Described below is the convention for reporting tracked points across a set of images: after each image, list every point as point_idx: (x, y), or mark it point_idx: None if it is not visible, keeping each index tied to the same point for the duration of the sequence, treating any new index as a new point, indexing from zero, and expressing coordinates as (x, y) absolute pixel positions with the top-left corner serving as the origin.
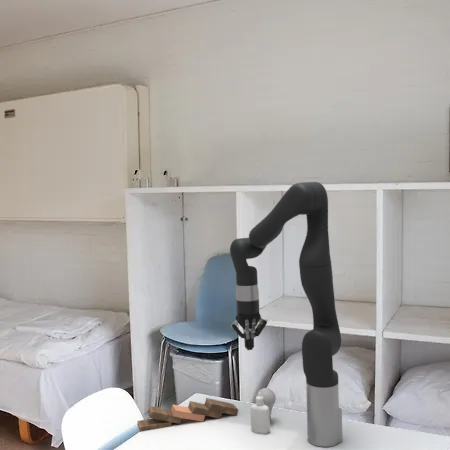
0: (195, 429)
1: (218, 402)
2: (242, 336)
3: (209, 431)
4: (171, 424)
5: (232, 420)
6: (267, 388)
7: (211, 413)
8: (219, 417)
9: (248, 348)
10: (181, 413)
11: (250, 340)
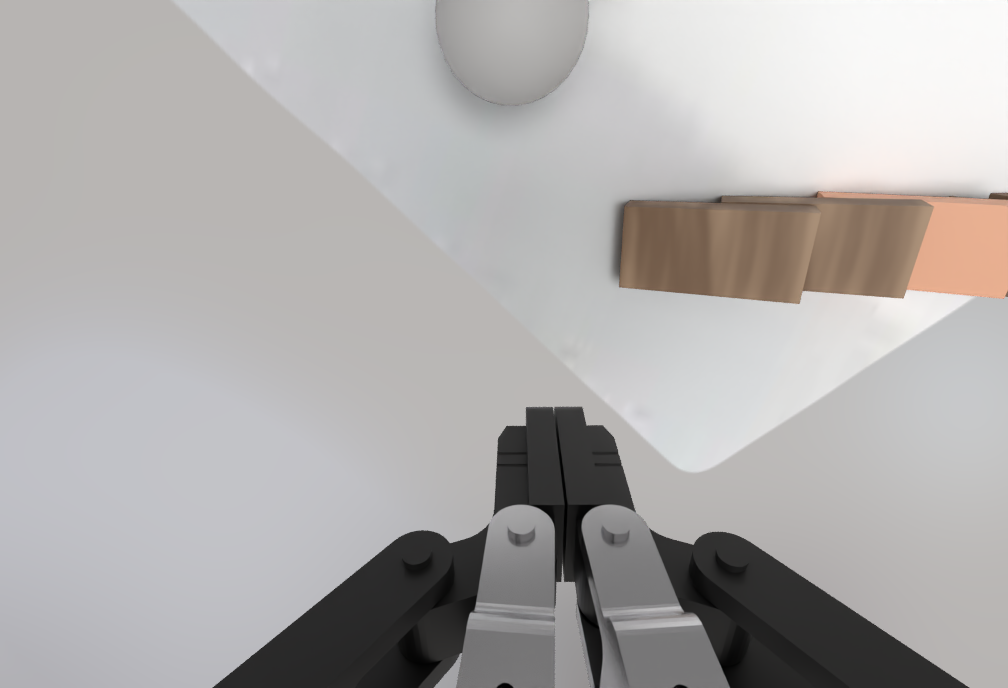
0: (907, 107)
1: (733, 262)
2: (742, 553)
3: (856, 48)
4: (1000, 194)
5: (676, 147)
6: (493, 8)
7: (789, 199)
8: (729, 196)
9: (583, 416)
10: (989, 202)
11: (560, 489)
